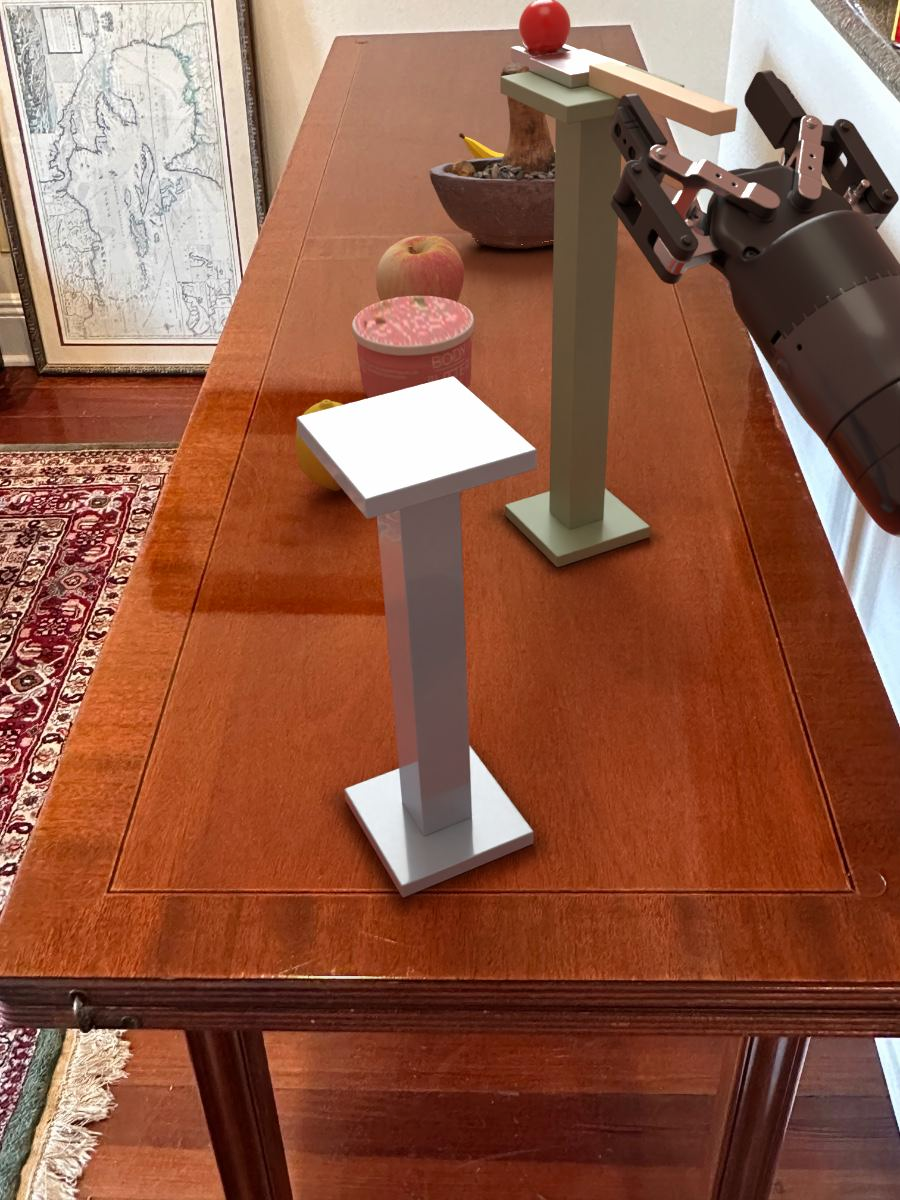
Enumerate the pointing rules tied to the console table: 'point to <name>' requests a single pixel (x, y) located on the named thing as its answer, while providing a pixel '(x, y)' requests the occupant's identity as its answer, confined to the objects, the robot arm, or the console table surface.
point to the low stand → (425, 618)
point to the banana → (479, 149)
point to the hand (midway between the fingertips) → (689, 94)
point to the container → (412, 343)
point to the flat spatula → (610, 72)
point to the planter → (505, 184)
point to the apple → (420, 269)
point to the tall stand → (579, 327)
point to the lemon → (309, 460)
